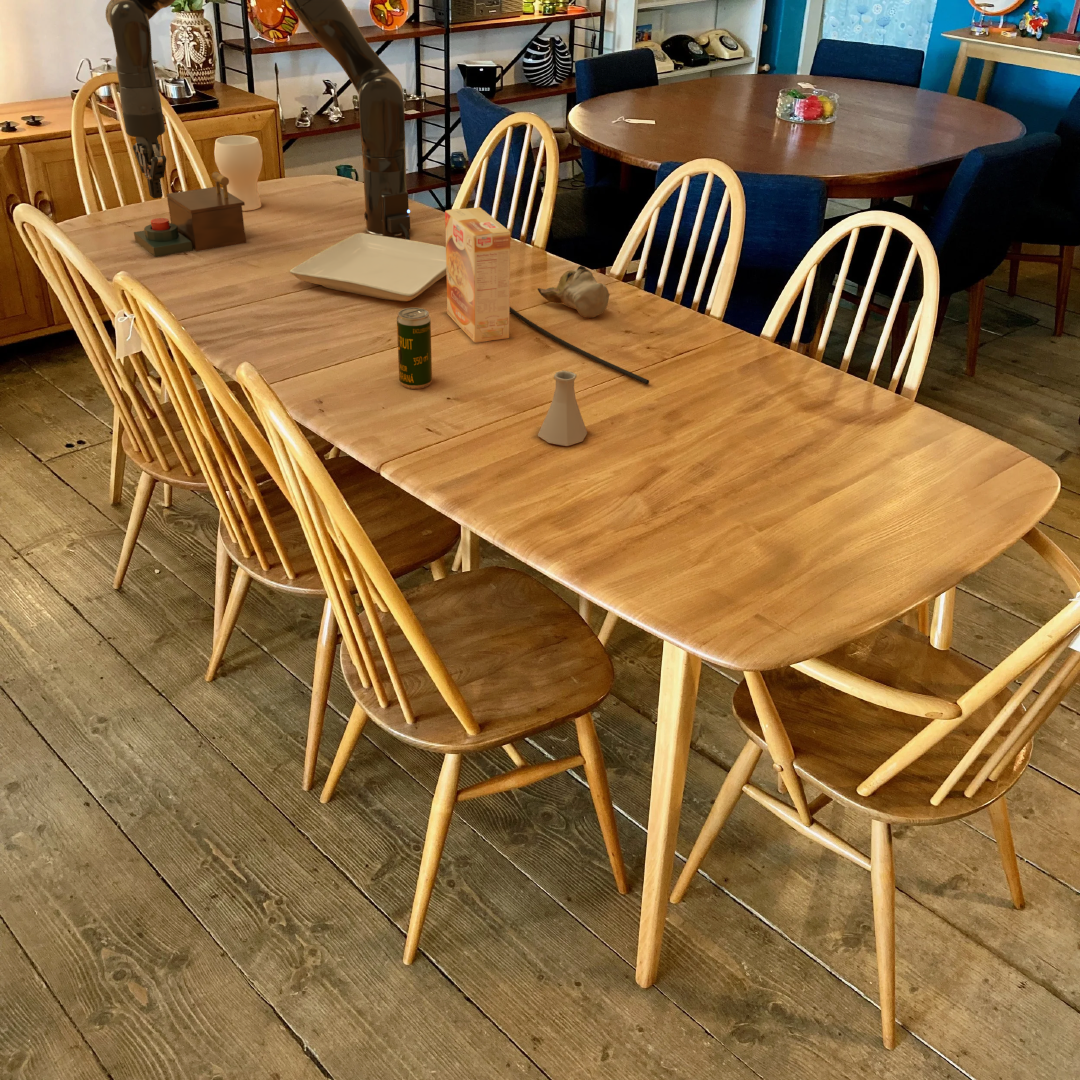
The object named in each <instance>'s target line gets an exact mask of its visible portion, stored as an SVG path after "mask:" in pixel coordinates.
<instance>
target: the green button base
mask: <svg viewBox="0 0 1080 1080" xmlns="http://www.w3.org/2000/svg"><path fill="white" fill-rule="evenodd" d="M169 225H170V229H167V230H152V226H151V223H150V224H148V225H145V227H144V228H143V230H139V231H134V232H133V235H134V241H135V242H136V243H137V244H138V245H139V246H140V247H142V248H143V249H145V251H147V252H149V254H150V255H152V256H153V257H155V258H159V257H165V256H171V255H175V254H181V253H187V252H191V251H193V250H194V249H193V248H192V243H191V241H190V240H189V239H187V238H186V237H184V236H183V235H182V234H180V233H179V232H178V227H177V225H175V224H172V223H171V222H169Z"/></svg>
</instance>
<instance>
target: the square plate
mask: <svg viewBox="0 0 1080 1080" xmlns="http://www.w3.org/2000/svg"><path fill="white" fill-rule="evenodd" d="M289 273H290V274H291V275H293V276H294V277H295V278H297V279H298V280H299V281H302V282H305V283H308V284H309V283H310V284H314V285H320V286H322V287H324V288H326V289H329V290H336V291H340V292H346V293H350V294H356V295H361V296H366V297H372V298H377V299H382V300H386V301H400V302H409V301H412V300H414V299H415V298H416V297H418V296H420V295H421V294H423V292H425V291H426V290H427V289H429V288H430V287H431V286H433V285H434V284H435V283H437V282H438V281H440V280H441V279H443V278H444V277H446V276H447V273H446V246H445V245H444V246H443V245H439V244H434V243H428V242H423V241H417V240H411V239H410V240H406V238H405V239H404V238H401V237H396V238H393V237H386V236H378V235H371V234H367V233H366V232H365V233H364V232H357V233H354V234H352V235H350V236H348V237H346V238H344V239H342V240H341V241H338V242H337V243H335V244H333V245H331V246H329V247H327V248H325V249H324V250H323V249H322V251H320V252H318V253H316V254H315V255H313V256H311V257H310V258H307V259H306V260H304V261H303V262H301V263H299V264H298V265H296V266H294V267H293V268H291V269H290V270H289Z"/></svg>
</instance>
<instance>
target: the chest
mask: <svg viewBox="0 0 1080 1080" xmlns="http://www.w3.org/2000/svg"><path fill="white" fill-rule="evenodd" d="M166 199H167V206H168V212H169V221H170V223H172V224H175V225H177V227H178V232H179V233H180V234H182V235H183V236H184V237H186V238H187V239H189V240H190V241H191V243H192V250H194V251H196V252H200V251H206V250H207V251H208V250H213V249H218V248H225V247H229V246H234V245H235V246H236V245H241V244H246V243H247V240H246V232H245V223H244V214H243V213H244V212H243V211H242V206H237V207H231V208H224V209H218V210H211V211H205V212H199V213H192V214H191V213H190V212H188V211H187V210H185V209H184V208H182V207H181V206H179V205H178V204H177V203H175V202H174V201H172V200H171V199H169V198H168V197H167V196H166Z"/></svg>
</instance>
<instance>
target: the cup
mask: <svg viewBox="0 0 1080 1080" xmlns="http://www.w3.org/2000/svg"><path fill="white" fill-rule="evenodd" d="M214 142H215V143H214V152H213V155H214V162H215V165H216V167H217V169H218V173H220V174H222V175H223V176H225V177H227V178H228V179H229V184H228V185H227V192H229V193H230V194H232V195H233V196H235V197H237V198H238V199H240V200H242V201H243V202H244V203H245V205H243V206H242V212H243V211H244V212H245V211H246V212H247V211H254V210H257V209H260V208H261V207H262V202H261V198H260V194H259V191H258V180H259V177H260V174H261V172H262V167H263V160H264V159H263V150H262V147H261V144H260V140H259V138H257V137H255V136H251V135H242V134H240V135H239V134H237V135H236V134H235V135H226V136H221V137H218V138H216V139H215V140H214Z"/></svg>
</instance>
